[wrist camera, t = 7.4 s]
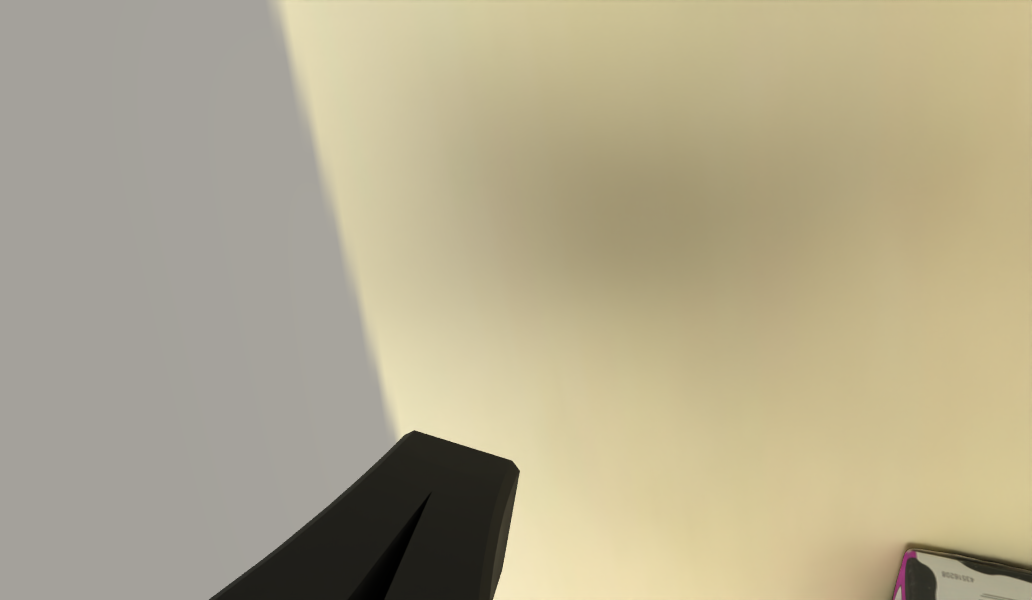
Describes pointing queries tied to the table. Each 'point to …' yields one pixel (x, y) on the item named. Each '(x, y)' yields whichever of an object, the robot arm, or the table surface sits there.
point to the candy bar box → (959, 578)
